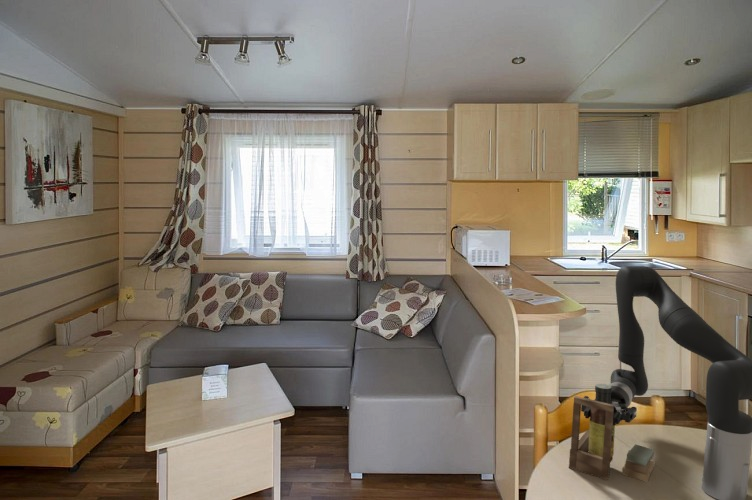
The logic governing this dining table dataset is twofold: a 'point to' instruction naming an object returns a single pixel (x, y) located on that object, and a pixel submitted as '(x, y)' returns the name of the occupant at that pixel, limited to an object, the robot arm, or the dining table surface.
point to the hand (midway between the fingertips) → (600, 418)
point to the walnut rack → (580, 447)
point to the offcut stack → (639, 463)
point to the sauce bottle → (600, 422)
